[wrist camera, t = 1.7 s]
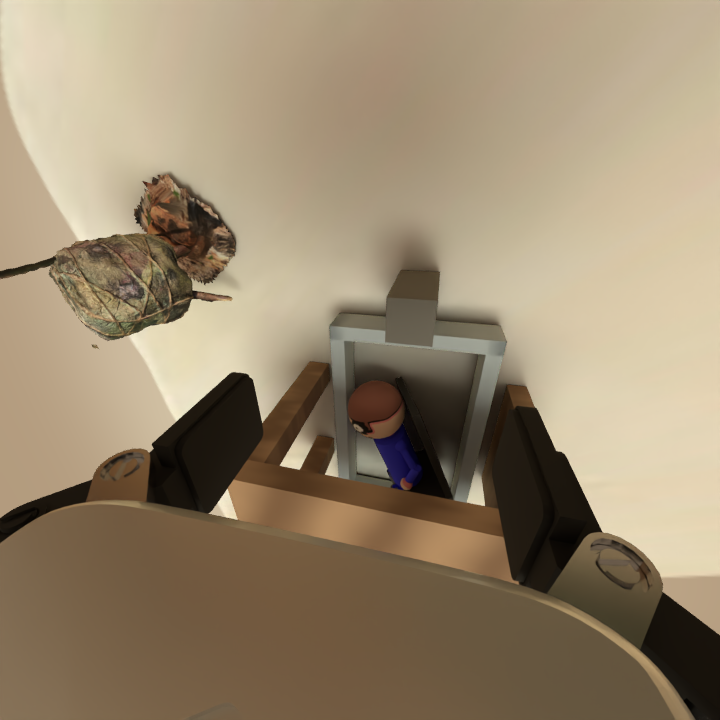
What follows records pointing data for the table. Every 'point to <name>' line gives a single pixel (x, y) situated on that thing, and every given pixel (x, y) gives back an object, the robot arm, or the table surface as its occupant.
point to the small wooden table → (367, 494)
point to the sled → (418, 330)
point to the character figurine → (397, 437)
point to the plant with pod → (143, 265)
